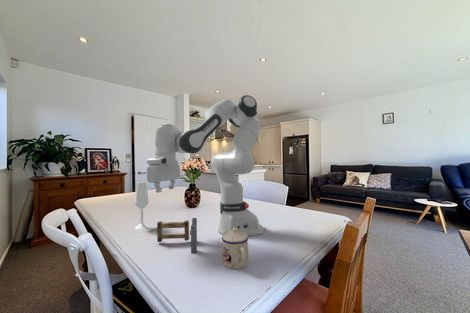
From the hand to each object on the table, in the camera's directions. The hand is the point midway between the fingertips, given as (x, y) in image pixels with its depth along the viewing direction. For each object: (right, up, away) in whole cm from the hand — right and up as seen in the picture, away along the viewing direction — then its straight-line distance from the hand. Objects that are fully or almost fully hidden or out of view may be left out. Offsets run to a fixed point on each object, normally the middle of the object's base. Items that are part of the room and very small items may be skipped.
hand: (165, 190), depth 89 cm
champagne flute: (-18, -22, +16) cm, 33 cm away
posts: (+15, -21, -8) cm, 27 cm away
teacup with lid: (+32, -21, -23) cm, 45 cm away
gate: (+5, -21, -4) cm, 22 cm away
